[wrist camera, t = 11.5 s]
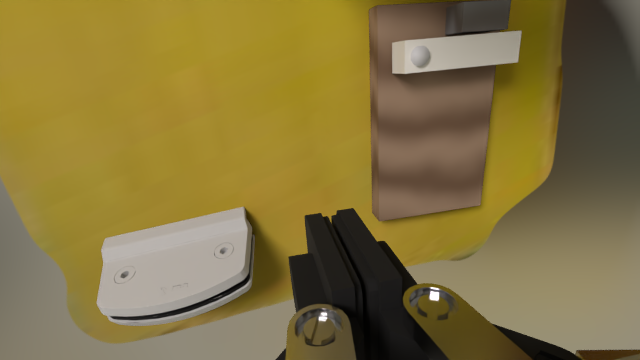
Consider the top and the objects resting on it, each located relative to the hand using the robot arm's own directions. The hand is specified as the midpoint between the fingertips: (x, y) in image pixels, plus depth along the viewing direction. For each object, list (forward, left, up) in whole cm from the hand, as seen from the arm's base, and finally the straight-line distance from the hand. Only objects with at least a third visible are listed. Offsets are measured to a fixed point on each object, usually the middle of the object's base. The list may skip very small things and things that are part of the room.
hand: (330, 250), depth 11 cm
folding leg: (-6, +19, -24) cm, 31 cm away
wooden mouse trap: (+1, +18, -27) cm, 33 cm away
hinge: (+14, -13, -28) cm, 33 cm away
